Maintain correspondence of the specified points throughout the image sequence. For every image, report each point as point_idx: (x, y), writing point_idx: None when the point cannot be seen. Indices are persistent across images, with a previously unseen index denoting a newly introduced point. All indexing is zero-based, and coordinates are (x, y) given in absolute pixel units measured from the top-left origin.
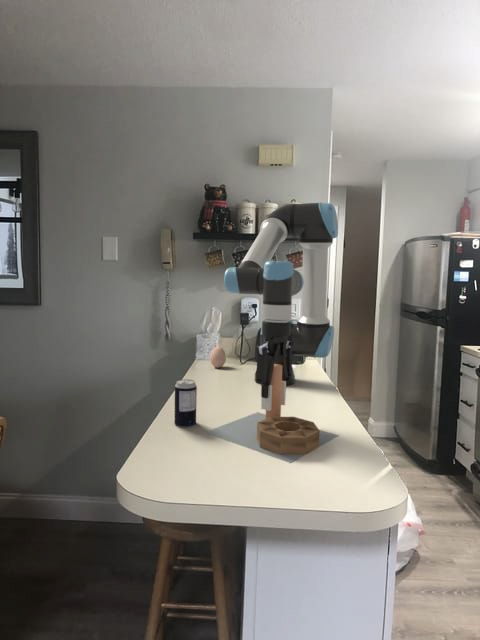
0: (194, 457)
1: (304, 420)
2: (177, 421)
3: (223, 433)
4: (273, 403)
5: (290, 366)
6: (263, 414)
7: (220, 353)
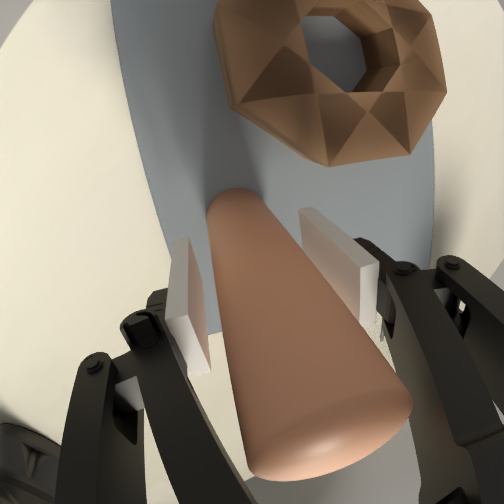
0: (494, 173)
1: (235, 37)
2: None
3: (411, 234)
4: (284, 228)
5: (85, 431)
6: None
7: None
